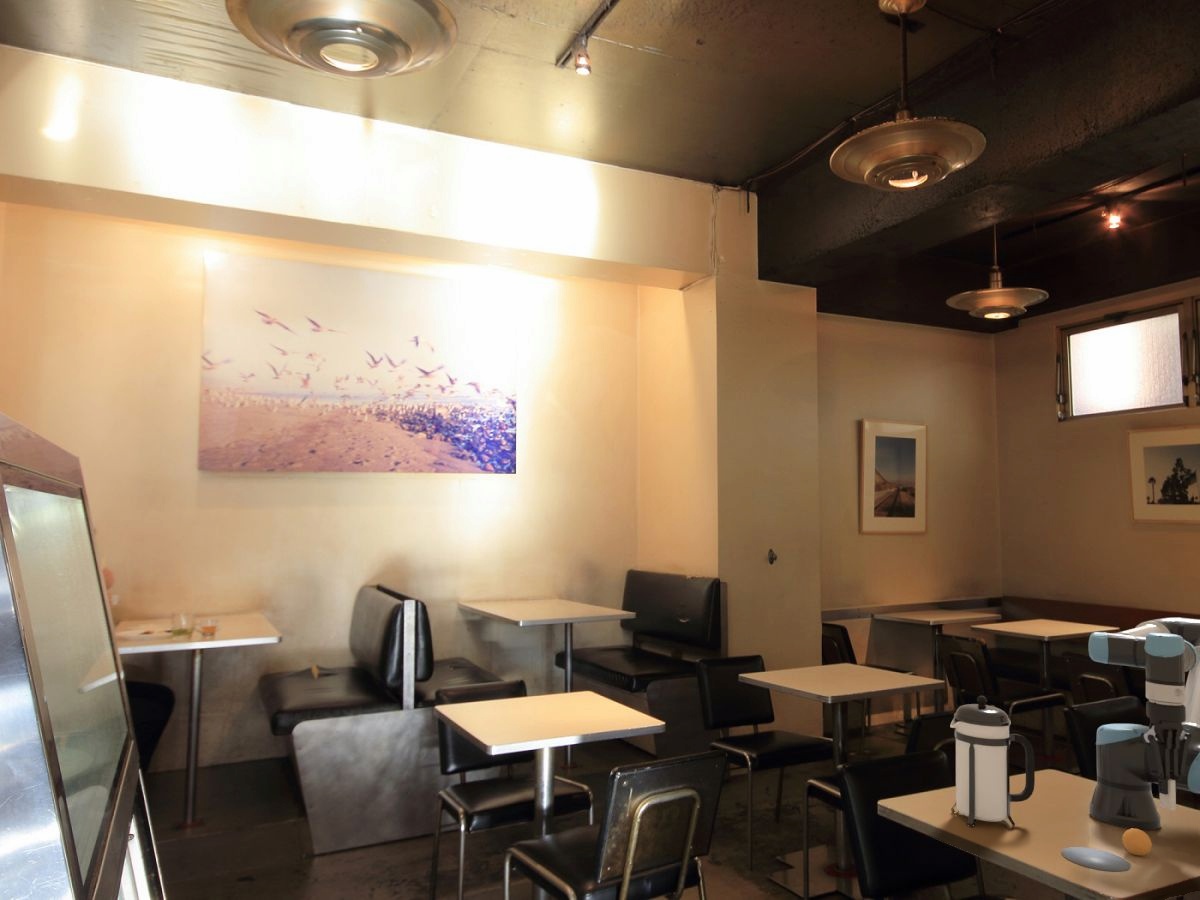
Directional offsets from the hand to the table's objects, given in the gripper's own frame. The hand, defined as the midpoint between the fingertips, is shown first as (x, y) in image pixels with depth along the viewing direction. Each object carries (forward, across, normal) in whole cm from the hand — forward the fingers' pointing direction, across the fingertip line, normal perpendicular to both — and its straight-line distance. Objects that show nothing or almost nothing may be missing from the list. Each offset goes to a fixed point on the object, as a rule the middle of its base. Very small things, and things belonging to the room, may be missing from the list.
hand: (1167, 808), depth 191 cm
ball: (+7, -9, 0) cm, 11 cm away
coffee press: (+10, -27, +26) cm, 39 cm away
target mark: (+10, -21, 0) cm, 23 cm away
